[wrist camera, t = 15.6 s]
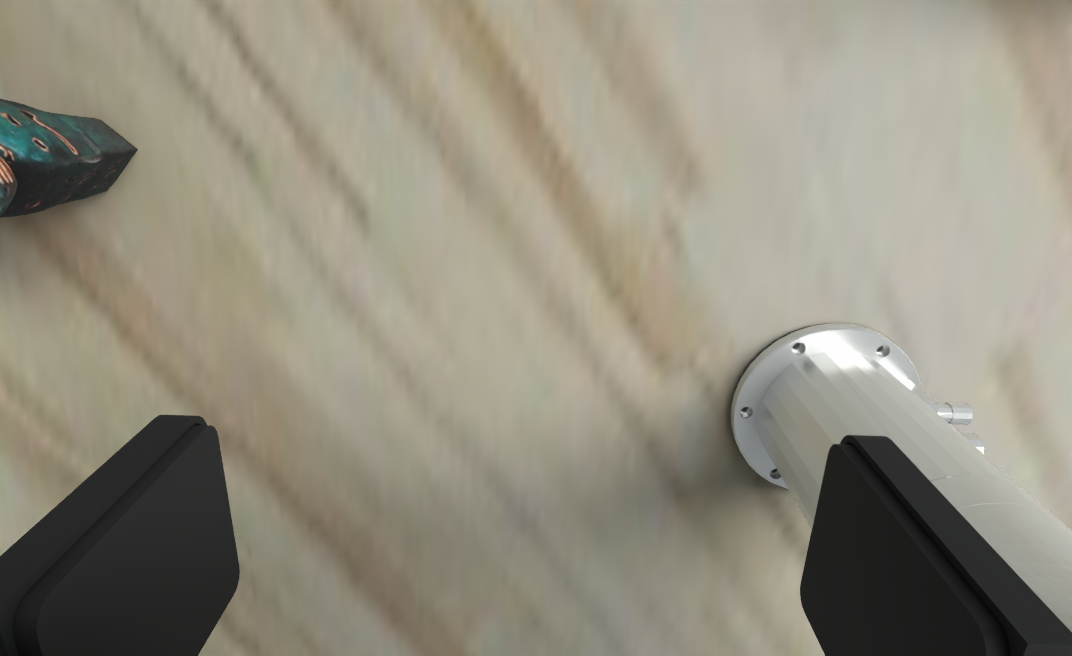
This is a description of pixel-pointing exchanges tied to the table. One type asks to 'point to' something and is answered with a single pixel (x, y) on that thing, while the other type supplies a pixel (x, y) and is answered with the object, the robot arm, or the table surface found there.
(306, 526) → the table surface
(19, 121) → the ceramic cat
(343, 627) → the table surface
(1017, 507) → the robot arm
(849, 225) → the table surface
